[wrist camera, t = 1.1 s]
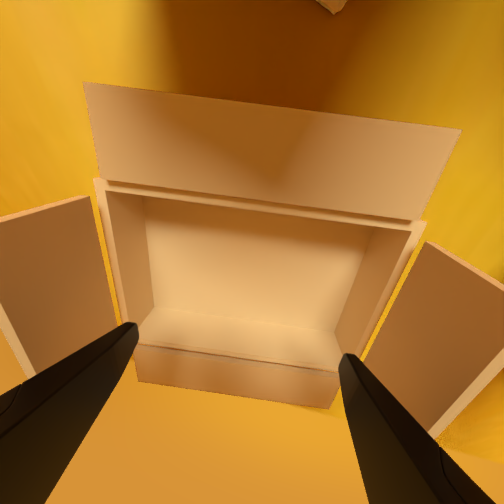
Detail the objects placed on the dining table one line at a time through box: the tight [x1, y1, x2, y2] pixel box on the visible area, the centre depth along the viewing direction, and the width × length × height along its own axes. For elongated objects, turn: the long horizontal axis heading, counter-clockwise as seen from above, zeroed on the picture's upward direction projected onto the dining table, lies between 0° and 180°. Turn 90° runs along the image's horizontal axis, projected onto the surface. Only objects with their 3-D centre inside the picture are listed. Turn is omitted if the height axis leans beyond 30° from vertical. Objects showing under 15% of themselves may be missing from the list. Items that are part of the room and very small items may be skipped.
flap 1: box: [0, 195, 117, 379], centre depth 10 cm, size 5×10×1 cm
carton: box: [83, 82, 462, 409], centre depth 14 cm, size 16×18×4 cm
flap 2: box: [363, 241, 504, 440], centre depth 10 cm, size 5×10×1 cm
